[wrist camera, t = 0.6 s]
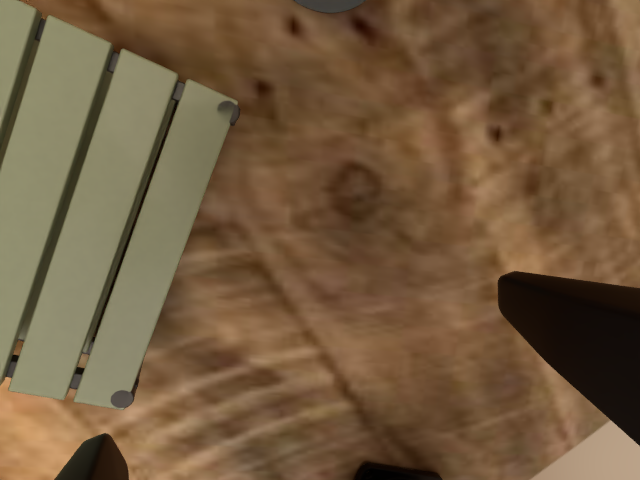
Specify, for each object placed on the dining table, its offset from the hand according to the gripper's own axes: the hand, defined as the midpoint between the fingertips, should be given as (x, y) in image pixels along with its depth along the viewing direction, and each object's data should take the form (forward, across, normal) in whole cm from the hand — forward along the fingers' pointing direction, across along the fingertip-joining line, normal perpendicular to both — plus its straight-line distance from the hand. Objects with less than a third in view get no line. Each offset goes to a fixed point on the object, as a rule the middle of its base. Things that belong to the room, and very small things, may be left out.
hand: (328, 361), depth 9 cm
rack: (+13, +6, -2) cm, 15 cm away
